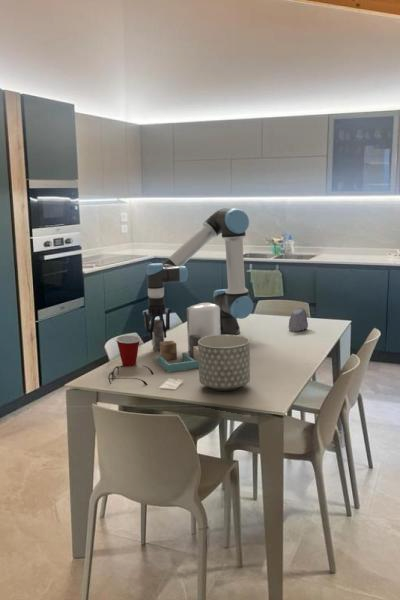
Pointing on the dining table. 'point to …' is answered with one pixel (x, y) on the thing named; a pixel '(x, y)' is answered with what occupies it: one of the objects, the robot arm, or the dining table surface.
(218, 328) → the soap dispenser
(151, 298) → the robot arm
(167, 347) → the block
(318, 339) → the dining table surface
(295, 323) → the stone
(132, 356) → the plastic cup
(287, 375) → the dining table surface
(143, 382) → the eyeglasses
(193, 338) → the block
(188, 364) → the teal tray
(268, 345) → the dining table surface
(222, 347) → the planter
